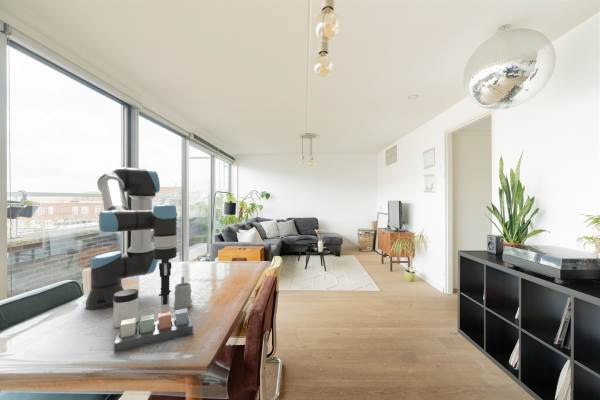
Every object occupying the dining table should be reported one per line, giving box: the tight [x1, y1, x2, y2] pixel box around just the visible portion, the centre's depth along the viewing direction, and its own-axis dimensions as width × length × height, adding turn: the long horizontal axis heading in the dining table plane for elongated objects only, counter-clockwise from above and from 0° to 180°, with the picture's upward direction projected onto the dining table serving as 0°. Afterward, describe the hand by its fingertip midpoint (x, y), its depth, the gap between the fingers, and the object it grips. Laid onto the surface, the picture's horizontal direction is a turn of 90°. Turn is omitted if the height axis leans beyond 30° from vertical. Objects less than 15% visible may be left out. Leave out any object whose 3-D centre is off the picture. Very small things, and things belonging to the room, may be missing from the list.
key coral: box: [158, 310, 172, 329], centre depth 92 cm, size 4×4×4 cm
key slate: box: [174, 308, 189, 326], centre depth 95 cm, size 4×4×4 cm
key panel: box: [113, 314, 194, 354], centre depth 91 cm, size 11×23×3 cm, turn 119°
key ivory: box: [120, 318, 137, 338], centre depth 87 cm, size 4×4×4 cm
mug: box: [173, 276, 193, 310], centre depth 119 cm, size 8×12×12 cm, turn 26°
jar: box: [112, 288, 140, 329], centre depth 101 cm, size 9×8×12 cm
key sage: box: [139, 314, 155, 334], centre depth 90 cm, size 4×4×4 cm
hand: (165, 312), depth 92 cm, fingers closed
